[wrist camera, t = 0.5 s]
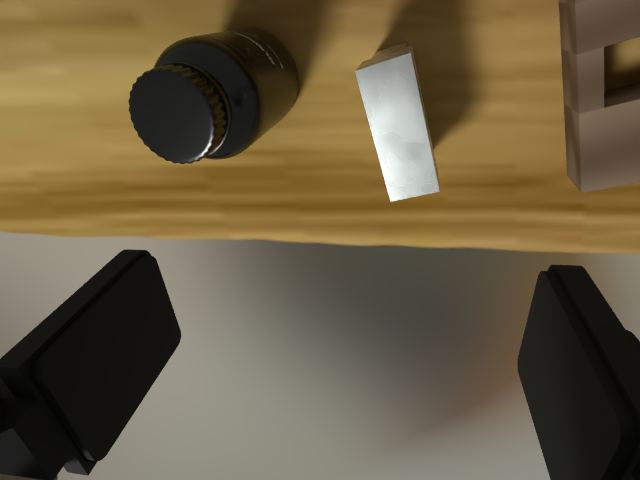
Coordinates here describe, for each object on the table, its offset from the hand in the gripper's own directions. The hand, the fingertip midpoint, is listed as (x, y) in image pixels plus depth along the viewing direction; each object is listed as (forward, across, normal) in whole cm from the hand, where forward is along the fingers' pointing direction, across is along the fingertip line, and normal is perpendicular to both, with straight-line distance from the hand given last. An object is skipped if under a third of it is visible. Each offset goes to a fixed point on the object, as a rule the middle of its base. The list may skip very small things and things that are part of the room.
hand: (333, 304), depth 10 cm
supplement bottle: (+23, +9, -2) cm, 25 cm away
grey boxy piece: (+22, -2, 0) cm, 22 cm away
